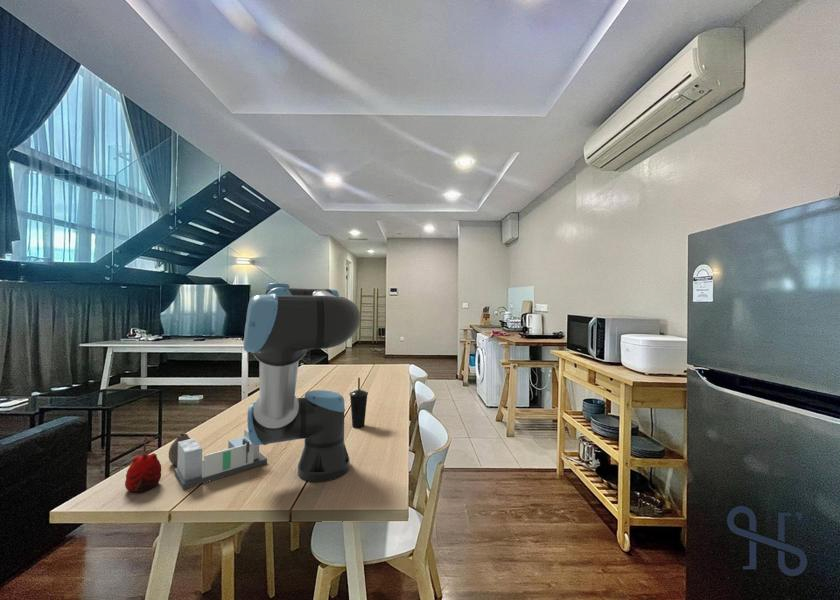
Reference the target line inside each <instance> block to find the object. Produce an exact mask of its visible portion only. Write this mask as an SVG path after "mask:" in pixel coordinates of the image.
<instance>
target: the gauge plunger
mask: <svg viewBox="0 0 840 600" xmlns="http://www.w3.org/2000/svg"><path fill="white" fill-rule="evenodd" d="M243 432H244V433H243V436H241V437H240V436H239V437H237V438H233V439H229V440H228V441H227V443H228V444H227V445H228V446H227V449H230V448H233V447H237V446H241V445H245V444H247V448H246V452H249V443H251V441H250V439H249V434H248V428H245V429H244V430H243ZM259 452H260V445H254V459H257V458H259Z"/></svg>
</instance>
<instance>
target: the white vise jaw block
mask: <svg viewBox="0 0 840 600" xmlns="http://www.w3.org/2000/svg"><path fill="white" fill-rule="evenodd" d="M202 461H203V447H202V446H201V445H200V444H199V443H198V440H196V439H195V438H194V437H193V438H191V439H188V440H184V441H179V442H178V463H177V467H176V468H177V470H178V471H179V473H180V475H181V477H182V478H183V480H184V482H186V481H190V480H193V479H196V478H200V477H202Z"/></svg>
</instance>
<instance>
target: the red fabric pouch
mask: <svg viewBox="0 0 840 600" xmlns="http://www.w3.org/2000/svg"><path fill="white" fill-rule="evenodd" d="M142 439H143V447H142V451H143V452H142V455H136V456H135V457H134V458H133V459H132V463H131V464H130V465H129V468H128V469H127V470H126V474H125V482H124V487H125V489H126V490H127V491H128V492H130V493H135V494H136V493H142V492H146V491H149V490H151V489H153V488H154V487H156V486H157V485H158V484H159V482H160V481H161V479H162V464H161V462H160V460H159V459H158V456H157V454H156V453H154V452H153V453H151V454H147V451H146V449H147V442H153V443H155V439H156V438H151V439H148V437H147V434H146V435H144V436H142Z"/></svg>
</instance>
